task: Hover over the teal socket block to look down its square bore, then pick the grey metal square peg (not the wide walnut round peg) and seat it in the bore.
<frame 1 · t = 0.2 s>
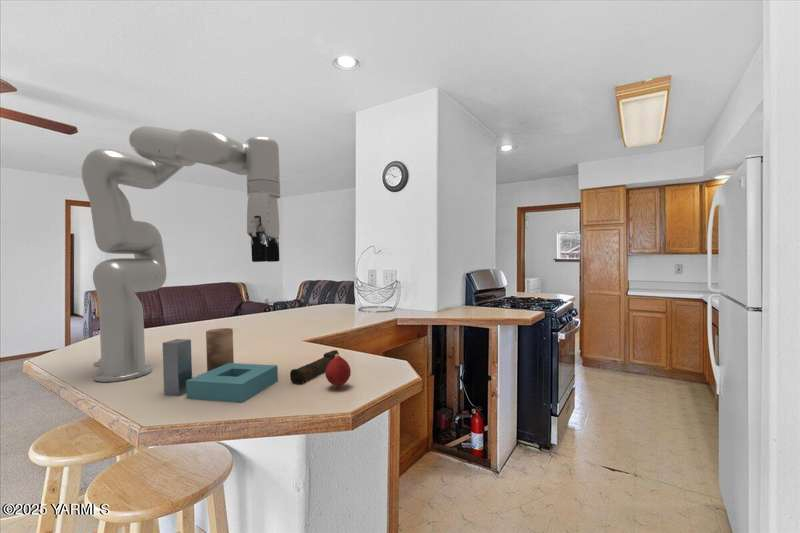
hand: (266, 261, 89), 30 cm above the table, fingers open, 9 cm apart
onion: (338, 388, 87), on the table
square peg: (178, 392, 86), on the table
socket block: (235, 389, 87), on the table
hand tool: (317, 374, 99), on the table
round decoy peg: (220, 375, 98), on the table
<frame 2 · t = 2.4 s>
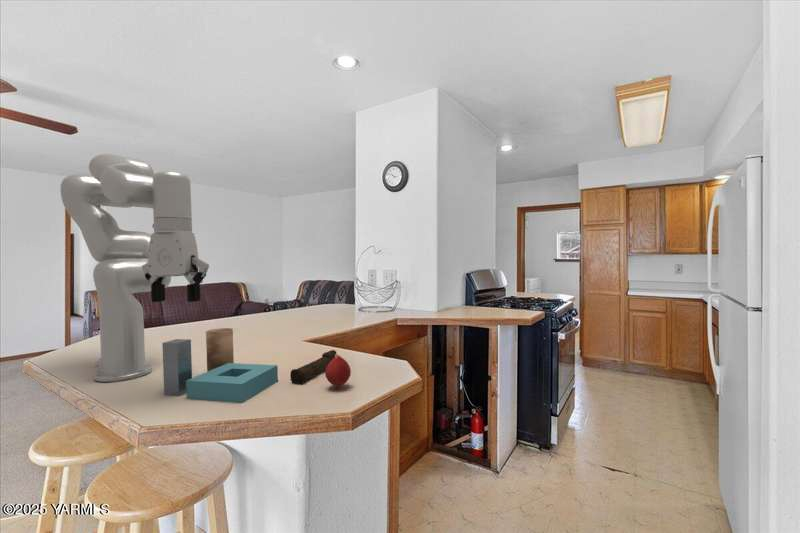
hand: (176, 301, 85), 21 cm above the table, fingers open, 9 cm apart
nothing on the table moved.
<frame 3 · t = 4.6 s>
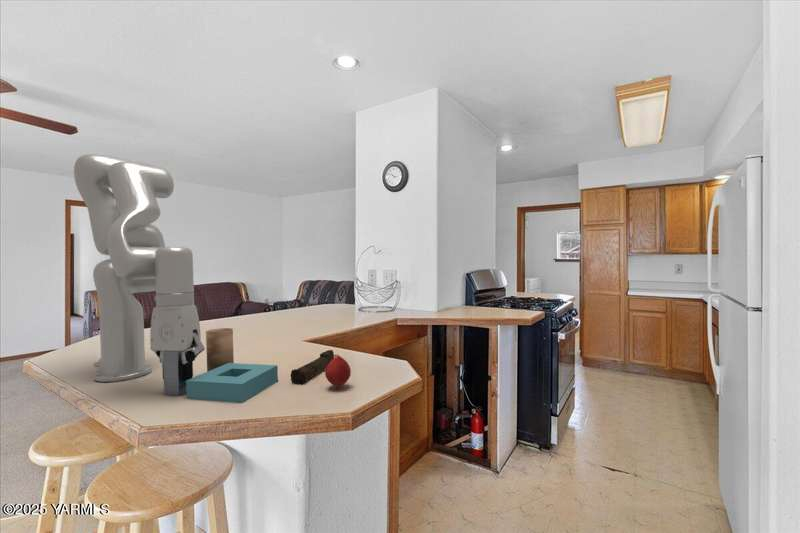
hand: (178, 378, 86), 3 cm above the table, fingers closed on square peg, 4 cm apart
square peg: (178, 392, 86), on the table, touching gripper
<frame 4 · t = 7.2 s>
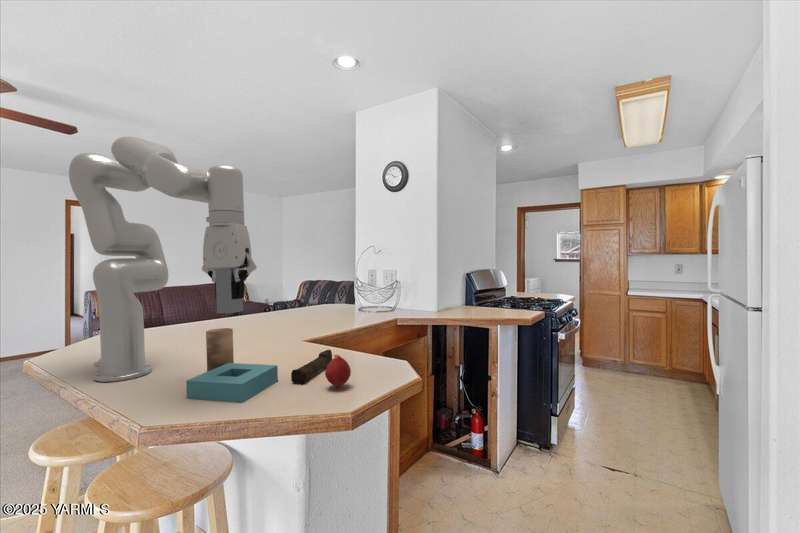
hand: (230, 297, 87), 22 cm above the table, fingers closed on square peg, 4 cm apart
square peg: (230, 311, 87), point 18 cm above the table, touching gripper
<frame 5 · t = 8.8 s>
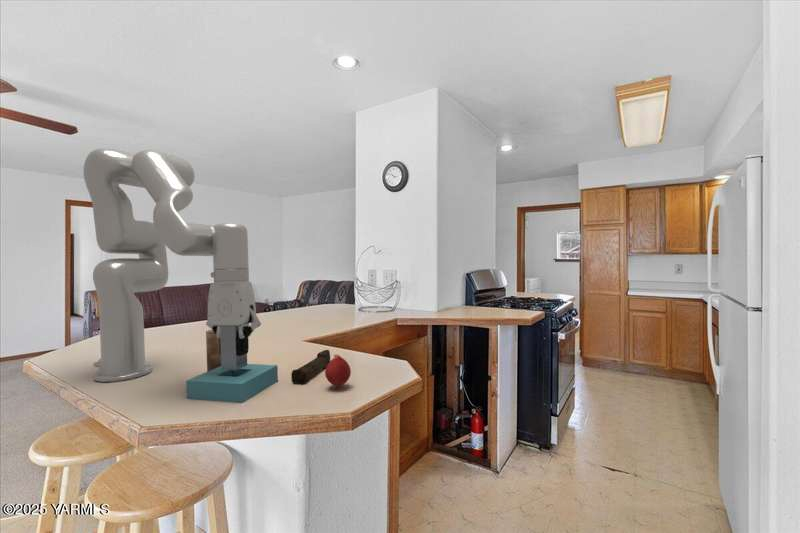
hand: (234, 353, 87), 9 cm above the table, fingers closed on square peg, 4 cm apart
square peg: (234, 367, 87), point 5 cm above the table, touching gripper
when the fingers open (5 cm above the table, at t = 10.0 s): square peg stays where it is, resting on socket block.
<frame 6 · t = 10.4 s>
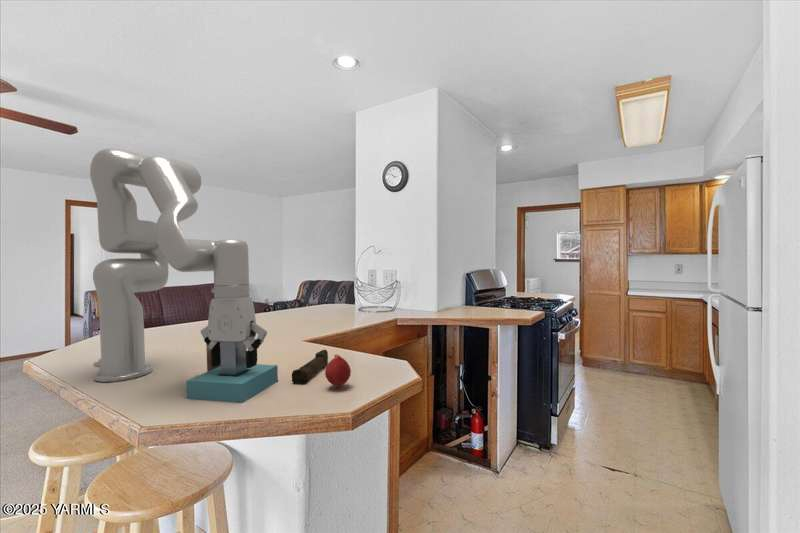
hand: (234, 365, 87), 6 cm above the table, fingers open, 8 cm apart
square peg: (234, 384, 87), point 1 cm above the table, touching socket block
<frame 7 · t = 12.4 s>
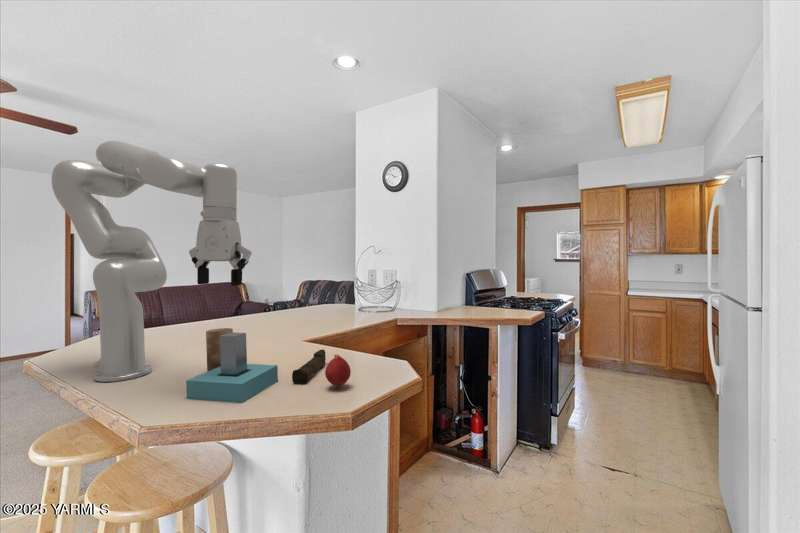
hand: (219, 284, 92), 25 cm above the table, fingers open, 9 cm apart
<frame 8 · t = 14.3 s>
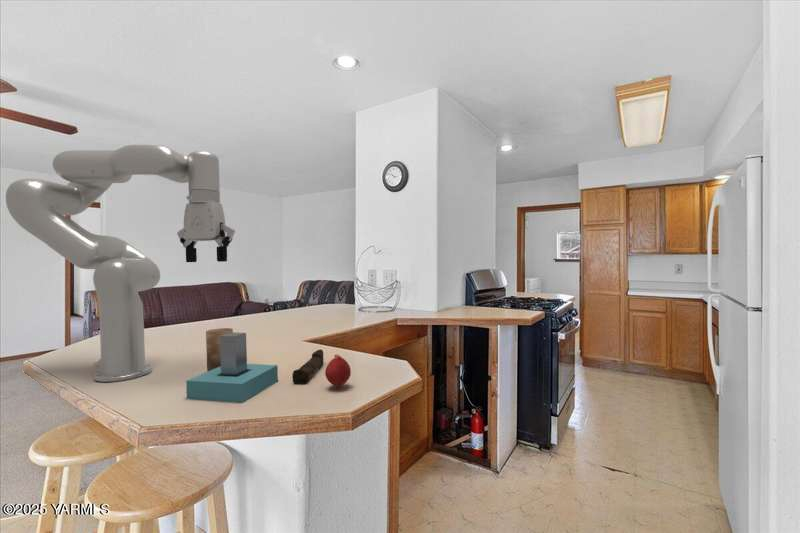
hand: (206, 261, 101), 30 cm above the table, fingers open, 9 cm apart
at the end: square peg 0.0 cm off-centre on the socket block, point 1.0 cm above the socket block's base; square peg tilted 0°; the gripper is holding nothing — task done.
